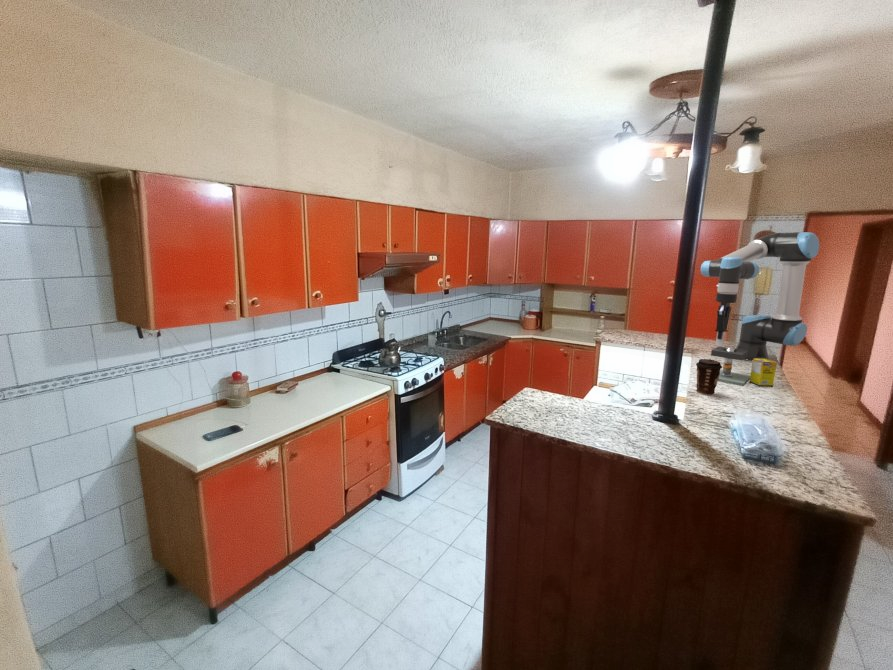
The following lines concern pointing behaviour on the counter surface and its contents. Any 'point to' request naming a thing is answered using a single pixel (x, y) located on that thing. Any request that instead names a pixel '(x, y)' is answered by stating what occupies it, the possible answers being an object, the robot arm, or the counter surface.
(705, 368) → the coffee cup
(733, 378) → the base board
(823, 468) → the counter surface
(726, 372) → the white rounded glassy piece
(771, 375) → the supplement box
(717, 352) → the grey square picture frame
